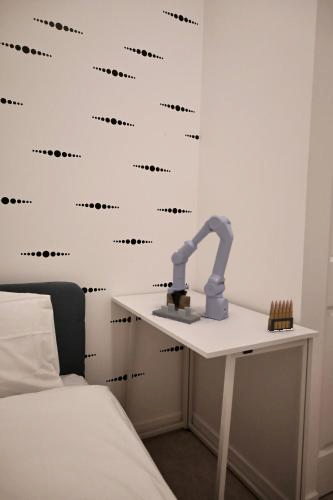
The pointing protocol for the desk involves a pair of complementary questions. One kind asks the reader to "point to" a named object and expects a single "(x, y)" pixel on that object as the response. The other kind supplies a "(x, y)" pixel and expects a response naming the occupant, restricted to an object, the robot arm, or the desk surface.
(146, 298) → the desk surface
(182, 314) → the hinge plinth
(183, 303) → the door panel
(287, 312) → the ammunition clip
